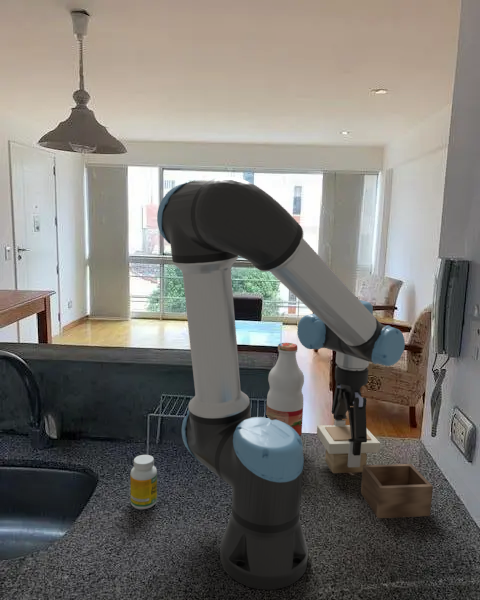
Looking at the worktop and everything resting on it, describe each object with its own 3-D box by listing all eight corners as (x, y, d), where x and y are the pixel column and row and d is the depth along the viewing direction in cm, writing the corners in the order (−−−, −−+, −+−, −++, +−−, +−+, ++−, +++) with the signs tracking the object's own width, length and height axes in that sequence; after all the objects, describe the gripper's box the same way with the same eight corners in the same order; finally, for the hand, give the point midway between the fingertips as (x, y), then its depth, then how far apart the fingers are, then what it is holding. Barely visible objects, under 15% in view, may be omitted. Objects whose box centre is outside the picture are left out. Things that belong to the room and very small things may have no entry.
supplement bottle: (133, 495, 98) (133, 452, 97) (158, 495, 99) (158, 452, 97) (128, 510, 93) (127, 465, 92) (154, 510, 93) (155, 465, 92)
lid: (329, 453, 106) (329, 442, 105) (316, 434, 116) (317, 424, 115) (379, 452, 107) (380, 441, 107) (362, 433, 117) (363, 423, 117)
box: (377, 520, 92) (380, 488, 91) (360, 495, 101) (362, 465, 100) (429, 518, 94) (433, 486, 93) (408, 493, 102) (411, 463, 101)
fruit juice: (265, 439, 127) (270, 339, 123) (300, 442, 126) (305, 341, 122) (263, 455, 117) (268, 348, 113) (301, 458, 116) (307, 350, 112)
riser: (332, 475, 109) (334, 455, 108) (325, 462, 115) (326, 443, 114) (365, 474, 110) (366, 454, 109) (356, 461, 116) (357, 442, 115)
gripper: (388, 381, 98) (380, 479, 101) (350, 353, 120) (344, 434, 123) (354, 381, 97) (346, 480, 100) (322, 353, 119) (317, 435, 122)
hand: (345, 455), depth 112 cm, fingers closed on lid, 10 cm apart
